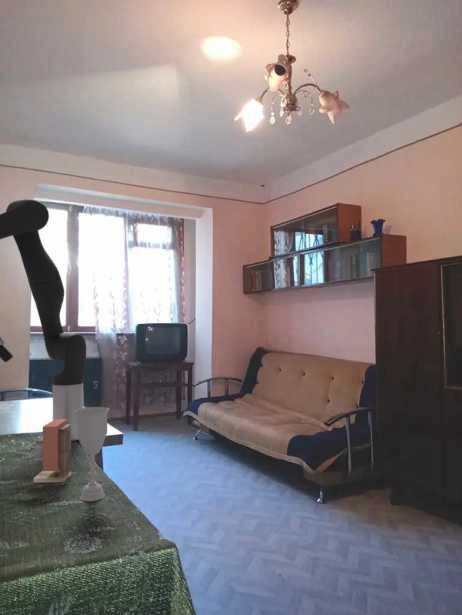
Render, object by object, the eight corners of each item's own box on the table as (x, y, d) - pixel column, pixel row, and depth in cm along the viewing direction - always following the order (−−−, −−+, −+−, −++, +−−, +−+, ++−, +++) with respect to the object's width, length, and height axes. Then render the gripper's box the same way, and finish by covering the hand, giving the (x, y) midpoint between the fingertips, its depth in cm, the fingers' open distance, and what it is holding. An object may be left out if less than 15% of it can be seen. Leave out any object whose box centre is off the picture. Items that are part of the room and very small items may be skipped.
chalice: (116, 492, 99) (116, 407, 99) (97, 504, 92) (97, 414, 93) (88, 489, 101) (87, 406, 101) (67, 500, 94) (66, 412, 95)
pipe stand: (41, 475, 111) (41, 425, 111) (71, 474, 111) (70, 424, 111) (33, 482, 106) (33, 430, 106) (64, 481, 106) (63, 429, 106)
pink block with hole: (55, 460, 112) (55, 419, 112) (67, 460, 112) (67, 419, 113) (43, 471, 104) (42, 426, 104) (56, 470, 104) (56, 426, 105)
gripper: (-36, 294, 108) (15, 349, 109) (-18, 300, 121) (27, 349, 122) (-64, 315, 106) (-12, 371, 107) (-43, 319, 119) (4, 369, 120)
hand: (9, 359), depth 114 cm, fingers closed
